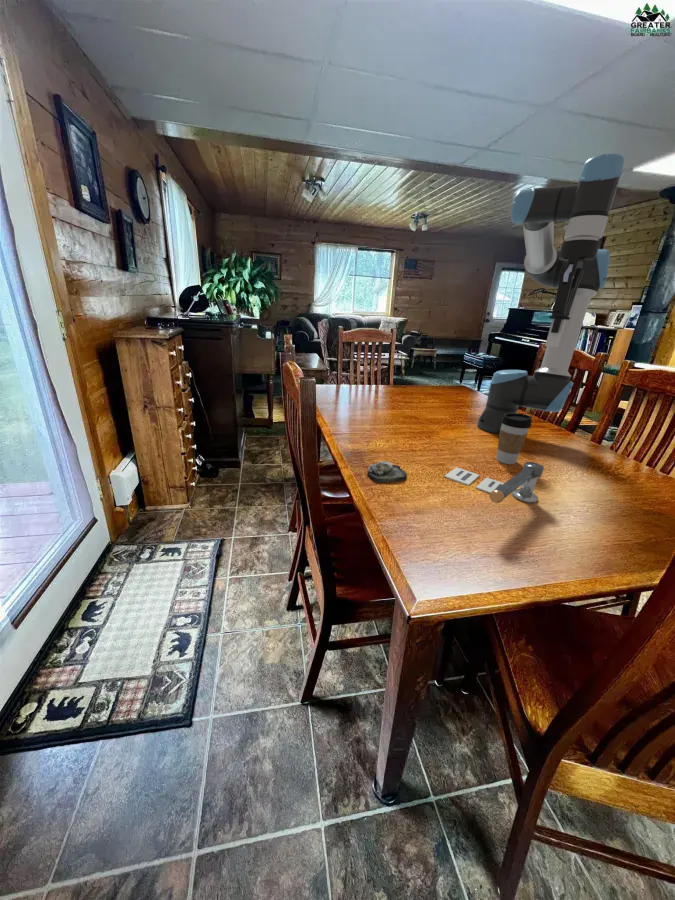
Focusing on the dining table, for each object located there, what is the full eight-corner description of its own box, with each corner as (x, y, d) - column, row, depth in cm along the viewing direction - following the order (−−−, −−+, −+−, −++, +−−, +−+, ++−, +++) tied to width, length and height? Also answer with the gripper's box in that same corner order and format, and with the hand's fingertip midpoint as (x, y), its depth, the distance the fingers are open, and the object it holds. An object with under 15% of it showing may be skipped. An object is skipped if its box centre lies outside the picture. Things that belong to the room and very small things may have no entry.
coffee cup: (523, 467, 108) (537, 421, 102) (494, 463, 110) (506, 418, 104) (516, 456, 116) (528, 413, 110) (489, 453, 117) (500, 410, 111)
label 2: (486, 478, 100) (486, 477, 100) (511, 487, 96) (512, 485, 96) (475, 488, 94) (476, 486, 94) (502, 498, 90) (503, 496, 90)
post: (515, 488, 95) (522, 466, 93) (539, 496, 92) (547, 474, 89) (509, 496, 91) (515, 474, 88) (534, 505, 88) (541, 482, 85)
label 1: (456, 468, 105) (456, 466, 105) (479, 476, 101) (479, 474, 101) (444, 477, 100) (444, 475, 99) (468, 485, 95) (468, 484, 95)
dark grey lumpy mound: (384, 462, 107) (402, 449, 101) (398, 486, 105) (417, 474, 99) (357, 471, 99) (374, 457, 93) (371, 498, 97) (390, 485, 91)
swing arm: (525, 468, 92) (528, 459, 91) (543, 475, 89) (546, 465, 88) (482, 499, 76) (485, 488, 75) (502, 508, 73) (506, 497, 72)
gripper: (568, 245, 88) (541, 343, 97) (557, 237, 79) (529, 346, 88) (604, 244, 84) (572, 346, 93) (597, 235, 74) (563, 349, 84)
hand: (551, 346), depth 90 cm, fingers closed
